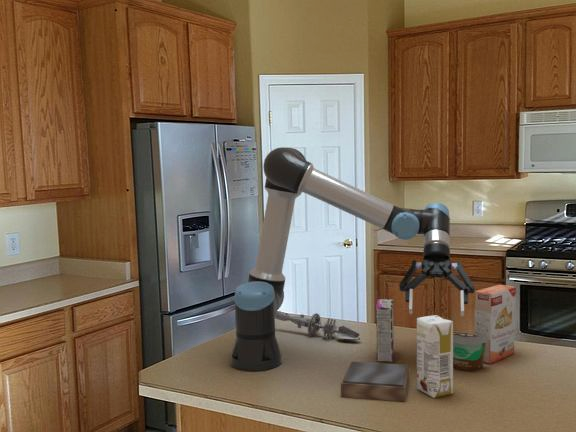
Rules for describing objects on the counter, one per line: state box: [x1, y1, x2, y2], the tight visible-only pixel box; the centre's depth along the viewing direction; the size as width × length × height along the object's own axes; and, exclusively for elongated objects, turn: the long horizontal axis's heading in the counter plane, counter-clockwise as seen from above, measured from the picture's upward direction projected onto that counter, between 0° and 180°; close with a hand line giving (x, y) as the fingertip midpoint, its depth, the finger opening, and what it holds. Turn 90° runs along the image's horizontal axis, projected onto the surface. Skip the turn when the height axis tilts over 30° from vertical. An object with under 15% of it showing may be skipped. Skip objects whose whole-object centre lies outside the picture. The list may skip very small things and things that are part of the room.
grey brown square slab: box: [340, 361, 410, 402], centre depth 160 cm, size 16×16×4 cm
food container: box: [453, 332, 488, 372], centre depth 172 cm, size 12×6×10 cm, turn 70°
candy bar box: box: [375, 298, 395, 363], centre depth 184 cm, size 11×5×16 cm, turn 168°
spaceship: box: [275, 310, 362, 341], centre depth 208 cm, size 8×35×8 cm
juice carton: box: [416, 314, 454, 399], centre depth 155 cm, size 8×9×19 cm
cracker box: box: [473, 284, 517, 365], centre depth 181 cm, size 14×6×21 cm, turn 131°
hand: (436, 312), depth 164 cm, fingers open, 13 cm apart
